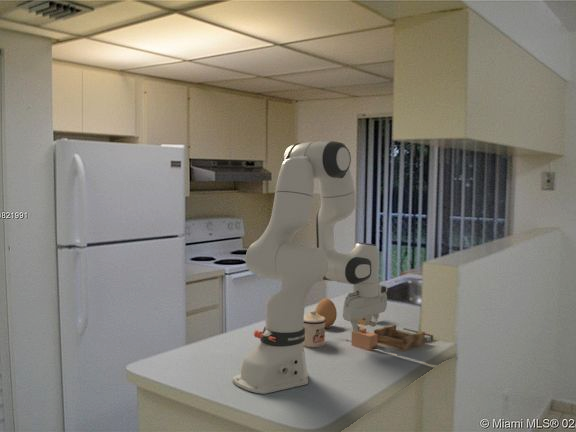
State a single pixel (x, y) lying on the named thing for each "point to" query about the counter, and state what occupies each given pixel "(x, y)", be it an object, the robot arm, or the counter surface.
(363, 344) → the block
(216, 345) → the counter surface
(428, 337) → the plank
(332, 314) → the egg
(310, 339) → the teacup with lid
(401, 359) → the counter surface
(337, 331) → the counter surface
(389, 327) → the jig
